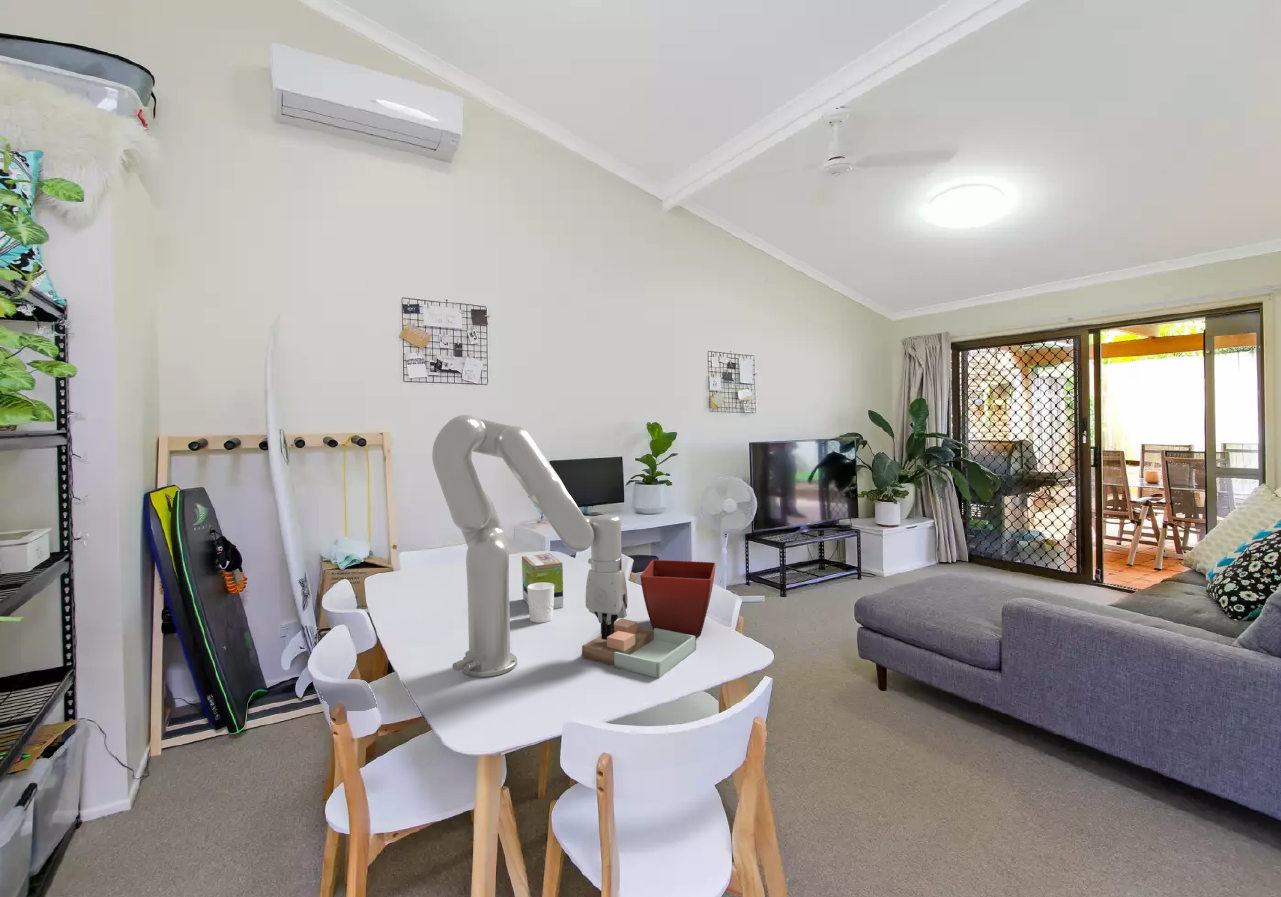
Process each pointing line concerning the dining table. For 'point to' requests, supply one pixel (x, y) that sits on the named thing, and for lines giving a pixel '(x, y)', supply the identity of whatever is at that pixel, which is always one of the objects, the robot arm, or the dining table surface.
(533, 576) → the tea box
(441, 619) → the dining table surface
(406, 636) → the dining table surface
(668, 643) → the tray
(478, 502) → the robot arm
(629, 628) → the tile
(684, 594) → the plant pot
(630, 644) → the tile
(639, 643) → the board
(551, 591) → the white cup
